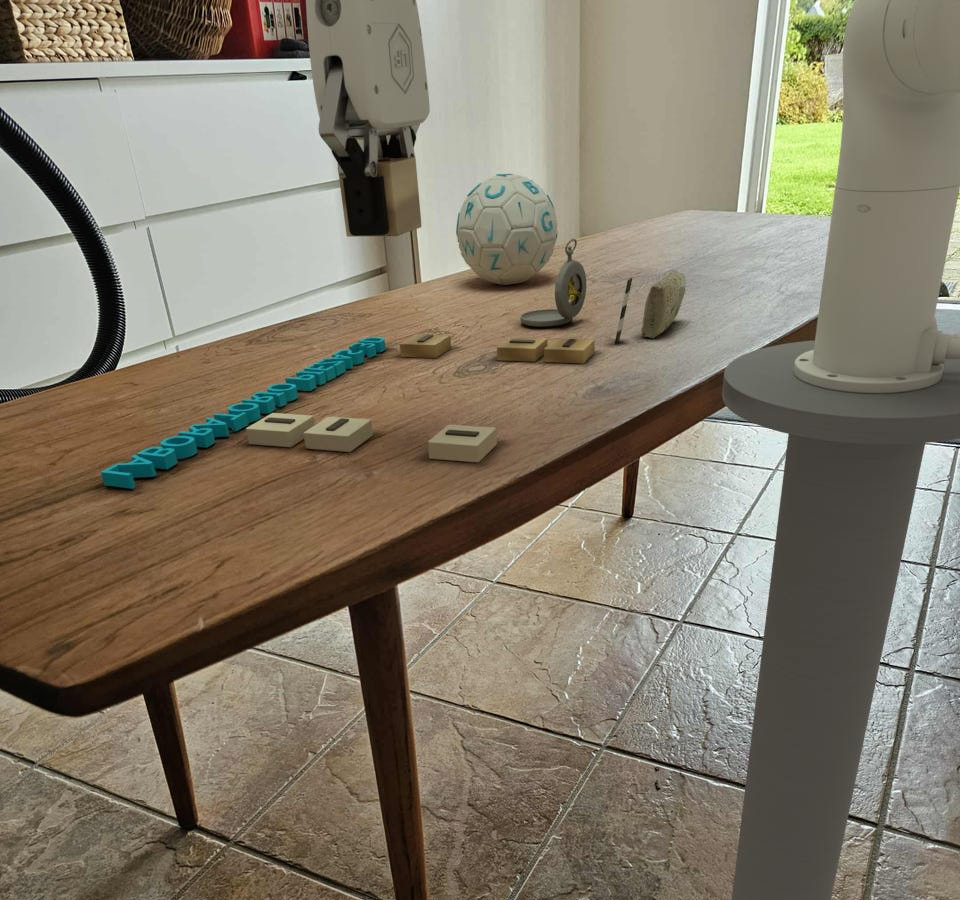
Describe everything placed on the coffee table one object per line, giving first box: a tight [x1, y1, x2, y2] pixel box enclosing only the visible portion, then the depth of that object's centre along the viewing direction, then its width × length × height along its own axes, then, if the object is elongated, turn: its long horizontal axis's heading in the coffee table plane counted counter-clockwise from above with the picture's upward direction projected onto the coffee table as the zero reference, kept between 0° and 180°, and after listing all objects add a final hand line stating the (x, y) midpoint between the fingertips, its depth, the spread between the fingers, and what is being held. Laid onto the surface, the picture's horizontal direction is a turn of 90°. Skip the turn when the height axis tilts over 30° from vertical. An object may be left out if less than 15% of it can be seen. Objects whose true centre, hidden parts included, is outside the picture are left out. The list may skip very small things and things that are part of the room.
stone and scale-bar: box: [614, 269, 687, 345], centre depth 105 cm, size 7×4×12 cm
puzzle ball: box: [455, 173, 559, 286], centre depth 134 cm, size 15×15×15 cm
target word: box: [245, 412, 498, 463], centre depth 79 cm, size 22×4×2 cm, turn 69°
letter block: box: [338, 157, 423, 238], centre depth 70 cm, size 4×4×5 cm
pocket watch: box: [519, 238, 587, 328], centre depth 111 cm, size 8×8×10 cm
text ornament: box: [100, 336, 387, 489], centre depth 91 cm, size 45×3×1 cm, turn 157°
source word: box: [399, 333, 596, 365], centre depth 102 cm, size 22×4×2 cm, turn 69°
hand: (384, 226), depth 71 cm, fingers closed on letter block, 4 cm apart
